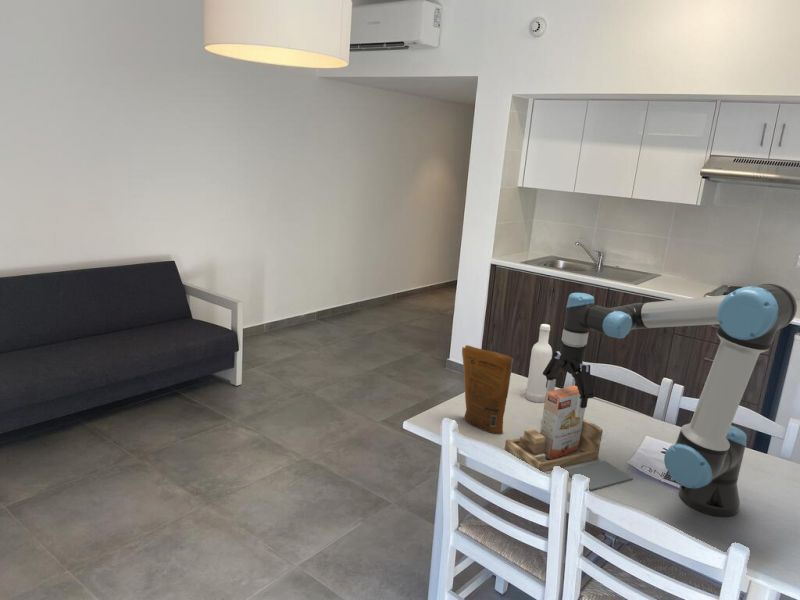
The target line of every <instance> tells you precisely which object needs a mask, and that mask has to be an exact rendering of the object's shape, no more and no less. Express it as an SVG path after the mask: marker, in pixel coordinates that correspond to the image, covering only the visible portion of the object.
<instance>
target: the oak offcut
mask: <svg viewBox="0 0 800 600" xmlns="http://www.w3.org/2000/svg"><path fill="white" fill-rule="evenodd" d="M523 436H524V438H525V439H526V440H528V441H529V442H530V443H531V444H533V445H534V446H540V445H545V438H546V437H544V436H543V435H542V434H540V431H538V430H537V429H535V428H532V429H531V428H530V429H529V428H528V429H524V431H523Z"/></svg>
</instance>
